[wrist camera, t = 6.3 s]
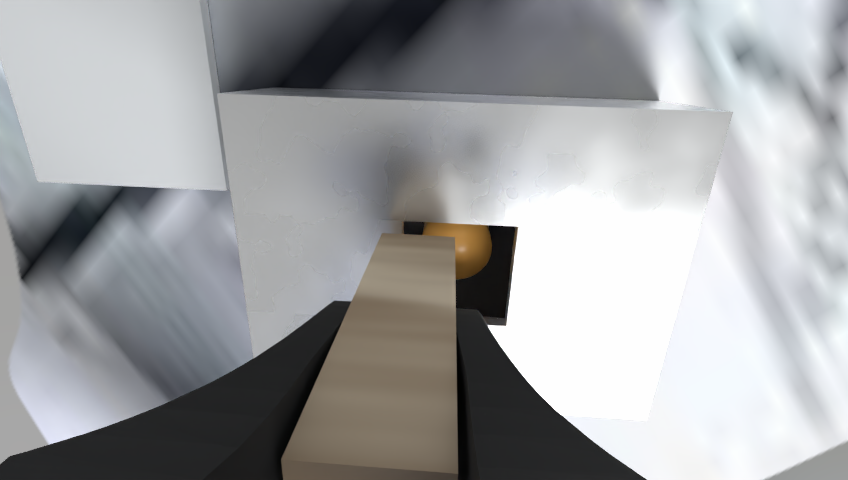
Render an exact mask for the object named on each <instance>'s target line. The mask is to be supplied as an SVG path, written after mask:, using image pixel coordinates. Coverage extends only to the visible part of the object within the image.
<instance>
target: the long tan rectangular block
mask: <svg viewBox="0 0 848 480" xmlns="http://www.w3.org/2000/svg"><path fill="white" fill-rule="evenodd" d="M281 464H282V474H283V480H458V429H457V351H456V274H455V237H446V236H428V235H410V234H392V233H382V234H381V236H380V239H379V241H378V243H377V245H376V247H375V250H374V252H373V254H372V256H371V259H370V261H369V263H368V265H367V268H366V270H365V272H364V274H363V277H362V279H361V281H360V283H359V286H358V288H357V290H356V292H355V295H354V297H353V299H352V301H351V304H350V306H349V308H348V310H347V313H346V315H345V317H344V319H343V322H342V324H341V326H340V328H339V331H338V333H337V335H336V337H335V340H334V342H333V344H332V346H331V349H330V351H329V353H328V355H327V357H326V360H325V362H324V364H323V366H322V369H321V371H320V373H319V375H318V378H317V380H316V382H315V384H314V387H313V389H312V391H311V393H310V396H309V398H308V400H307V402H306V405H305V407H304V409H303V411H302V414H301V416H300V418H299V420H298V423H297V425H296V427H295V429H294V432H293V434H292V436H291V438H290V441H289V443H288V445H287V447H286V450H285V452H284V454H283V456H282V458H281Z"/></svg>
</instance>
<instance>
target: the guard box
mask: <svg viewBox="0 0 848 480" xmlns="http://www.w3.org/2000/svg"><path fill="white" fill-rule="evenodd" d="M217 98H218V105H219V113H220V120H221V127H222V134H223V142H224V149H225V156H226V163H227V170H228V178H229V185H230V192H231V199H232V207H233V214H234V221H235V228H236V236H237V243H238V250H239V257H240V265H241V272H242V279H243V286H244V294H245V301H246V308H247V315H248V322H249V330H250V337H251V344H252V351H253V359H254V358H255V357H257V356H258V355H260V354H261V353H263V352H264V351H266V350H267V349H269V348H270V347H272V346H273V345H275V344H276V343H278V342H279V341H281V340H282V339H284V338H285V337H286V336H288V335H289V334H291V333H292V332H293V331H295V330H296V329H297V328H299V327H300V326H301V325H303V324H304V323H305V322H307V321H308V320H309V319H311V318H312V317H313V316H314V315H316V314H317V313H318V312H320V311H321V310H322V309H323V308H325V307H326V306H327V305H329V304H330V303H331V302H333V301H334V300H337V301H352V299H353V297H354V295H355V292H356V290H357V288H358V286H359V283H360V281H361V279H362V277H363V274H364V272H365V270H366V268H367V265H368V263H369V261H370V259H371V256H372V254H373V252H374V250H375V247H376V245H377V243H378V241H379V239H380V236H381V234H382V233H392V234H404V221H414V222H434V223H454V224H475V225H495V226H515V234H514V243H513V251H512V260H511V269H510V278H509V286H508V295H507V304H506V313H505V318H495V317H483V318H484V320H485V322H486V323H487V325H488V327H489V329H490V330H491V332H492V333H493V335H494V337H495V338H496V340H497V341H498V343H499V344H500V346H501V347H502V348H503V350H504V351H505V353H506V354H507V355H508V357H509V358H510V359H511V361H512V362H513V363H514V365H515V366H516V367H517V369H518V370H519V371H520V372H521V373H522V375H523V376H524V377H525V378H526V379H527V381H528V382H529V383H530V384H531V385H532V386H533V387H534V389H535V390H536V391H537V392H538V393H539V394H540V395H541V396H542V397H543V398H544V399H545V400H546V401H547V402H548V403H549V404H550V405H551V406H552V407H553V408H554V409H555V410H556V411H557V412H558V413H560V414H562V415H576V416H590V417H605V418H619V419H634V420H647V416H648V413H649V409H650V405H651V402H652V398H653V395H654V391H655V388H656V384H657V381H658V377H659V373H660V370H661V366H662V363H663V359H664V356H665V352H666V349H667V345H668V341H669V338H670V334H671V331H672V327H673V324H674V320H675V316H676V313H677V309H678V306H679V302H680V299H681V295H682V292H683V288H684V284H685V281H686V277H687V274H688V270H689V267H690V263H691V260H692V256H693V252H694V249H695V245H696V242H697V238H698V235H699V231H700V227H701V224H702V220H703V217H704V213H705V210H706V206H707V203H708V199H709V195H710V192H711V188H712V185H713V181H714V178H715V174H716V171H717V167H718V163H719V160H720V156H721V153H722V149H723V146H724V142H725V139H726V135H727V131H728V128H729V124H730V121H731V117H732V114H733V112H730V111H723V110H717V109H710V108H704V107H697V106H691V105H684V104H678V103H671V102H665V101H653V100H624V99H596V98H567V97H538V96H510V95H481V94H452V93H424V92H395V91H366V90H338V89H309V88H280V87H275V88H265V89H255V90H246V91H236V92H227V93H217Z"/></svg>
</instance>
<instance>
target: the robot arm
mask: <svg viewBox="0 0 848 480" xmlns="http://www.w3.org/2000/svg"><path fill="white" fill-rule="evenodd" d="M350 304H351V301H337V300H334V301H333V302H331V303H330V304H329V305H327V306H326V307H325V308H323V309H322V310H321V311H320V312H318V313H317V314H316V315H314V316H313V317H312V318H311V319H309V320H308V321H307V322H305V323H304V324H303V325H301V326H300V327H299V328H297V329H296V330H295V331H293V332H292V333H291V334H289V335H288V336H286V337H285V338H284V339H282V340H281V341H279V342H278V343H276V344H275V345H273V346H272V347H270V348H269V349H267V350H266V351H264V352H263V353H261V354H260V355H258V356H257V357H255V358H254V359H252V360H250V361H249V362H247V363H245V364H244V365H242V366H240V367H239V368H237V369H235V370H233V371H232V372H230V373H228V374H226V375H224V376H222V377H220V378H219V379H217V380H215V381H213V382H211V383H209V384H207V385H205V386H203V387H201V388H199V389H196V390H194V391H192V392H190V393H188V394H185V395H183V396H181V397H179V398H177V399H175V400H172V401H170V402H168V403H166V404H164V405H161V406H159V407H157V408H154V409H152V410H149V411H146V412H144V413H141V414H139V415H136V416H134V417H131V418H129V419H126V420H123V421H120V422H118V423H115V424H112V425H109V426H107V427H104V428H101V429H98V430H95V431H92V432H89V433H86V434H83V435H80V436H76V437H73V438H70V439H67V440H63V441H60V442H57V443H53V444H50V445H47V446H44V447H40V448H37V449H34V450H31V451H28V452H24V453H20V454H16V455H13V456H10V457H8V458H7V459H6V460H5V461H4V462H2V463H1V464H0V480H283V474H282V464H281V458H282V456H283V454H284V452H285V450H286V447H287V445H288V443H289V441H290V438H291V436H292V434H293V432H294V429H295V427H296V425H297V423H298V420H299V418H300V416H301V414H302V411H303V409H304V407H305V405H306V402H307V400H308V398H309V396H310V393H311V391H312V389H313V387H314V384H315V382H316V380H317V378H318V375H319V373H320V371H321V369H322V366H323V364H324V362H325V360H326V357H327V355H328V353H329V351H330V349H331V346H332V344H333V342H334V340H335V337H336V335H337V333H338V331H339V328H340V326H341V324H342V322H343V319H344V317H345V315H346V313H347V310H348V308H349V306H350ZM456 351H457V429H458V480H647V479H645V478H643V477H642V476H640V475H639V474H637V473H636V472H635V471H633V470H632V469H630V468H629V467H627V466H626V465H624V464H623V463H622V462H620V461H619V460H617V459H616V458H614V457H613V456H612V455H610V454H609V453H607V452H606V451H605V450H603V449H602V448H601V447H599V446H598V445H597V444H595V443H594V442H593V441H592V440H590V439H589V438H588V437H587V436H585V435H584V434H583V433H582V432H581V431H579V430H578V429H577V428H576V427H575V426H573V425H572V424H571V423H570V422H569V421H567V420H566V419H565V418H564V417H563V416H562V415H561V414H560V413H558V412H557V411H556V410H555V409H554V408H553V407H552V406H551V405H550V404H549V403H548V402H547V401H546V400H545V399H544V398H543V397H542V396H541V395H540V394H539V393H538V392H537V391H536V390H535V389H534V387H533V386H532V385H531V384H530V383H529V382H528V381H527V379H526V378H525V377H524V376H523V375H522V373H521V372H520V371H519V370H518V369H517V367H516V366H515V365H514V363H513V362H512V361H511V359H510V358H509V357H508V355H507V354H506V353H505V351H504V350H503V348H502V347H501V346H500V344H499V343H498V341H497V340H496V338H495V337H494V335H493V333H492V332H491V330H490V329H489V327H488V325H487V323H486V322H485V320H484V318H483V316H482V314H481V313H480V312H479V311H478V310H475V309H459V308H456Z"/></svg>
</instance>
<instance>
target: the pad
mask: <svg viewBox="0 0 848 480" xmlns="http://www.w3.org/2000/svg"><path fill="white" fill-rule="evenodd" d="M0 60H1V63H2V66H3V70H4V73H5V76H6V79H7V83H8V86H9V89H10V93H11V96H12V99H13V102H14V106H15V109H16V112H17V116H18V119H19V122H20V125H21V129H22V132H23V135H24V139H25V142H26V145H27V149H28V152H29V155H30V158H31V162H32V165H33V168H34V172H35V175H36V178H37V181H38V182H50V183H72V184H93V185H114V186H136V187H157V188H178V189H200V190H221V191H227V190H229V189H230V185H229V178H228V170H227V163H226V156H225V149H224V142H223V134H222V127H221V120H220V113H219V105H218V98H217V93H220V89H219V81H218V74H217V67H216V59H215V52H214V44H213V37H212V30H211V22H210V15H209V8H208V0H0Z"/></svg>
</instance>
